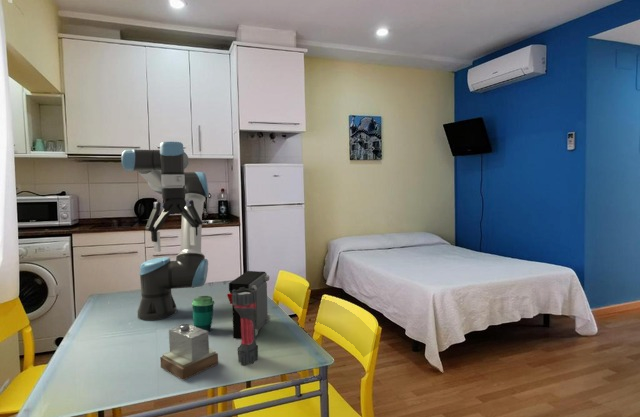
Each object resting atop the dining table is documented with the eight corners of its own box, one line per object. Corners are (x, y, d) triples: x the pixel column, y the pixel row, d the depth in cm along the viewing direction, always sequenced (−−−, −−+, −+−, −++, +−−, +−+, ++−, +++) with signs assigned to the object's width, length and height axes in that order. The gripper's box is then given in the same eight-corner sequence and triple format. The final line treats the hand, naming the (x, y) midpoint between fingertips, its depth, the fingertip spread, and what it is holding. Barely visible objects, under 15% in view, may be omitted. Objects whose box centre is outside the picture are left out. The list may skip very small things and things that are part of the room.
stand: (160, 367, 115) (160, 354, 115) (195, 352, 124) (195, 340, 124) (183, 380, 108) (182, 366, 107) (218, 363, 117) (217, 351, 117)
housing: (192, 361, 110) (191, 334, 109) (169, 351, 116) (168, 326, 116) (209, 353, 115) (208, 328, 114) (186, 344, 121) (185, 320, 121)
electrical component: (255, 340, 134) (253, 284, 132) (228, 337, 136) (226, 283, 134) (271, 321, 151) (270, 271, 149) (247, 319, 153) (246, 270, 151)
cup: (188, 332, 141) (186, 300, 140) (201, 324, 148) (200, 294, 147) (206, 335, 138) (205, 303, 137) (219, 326, 146) (218, 296, 145)
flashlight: (236, 370, 113) (234, 295, 111) (231, 359, 120) (229, 288, 118) (261, 365, 116) (260, 291, 114) (255, 354, 123) (253, 285, 121)
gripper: (143, 188, 119) (146, 255, 121) (210, 186, 138) (212, 243, 140) (131, 188, 123) (135, 252, 125) (198, 186, 143) (200, 241, 145)
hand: (176, 248), depth 133 cm, fingers open, 13 cm apart
